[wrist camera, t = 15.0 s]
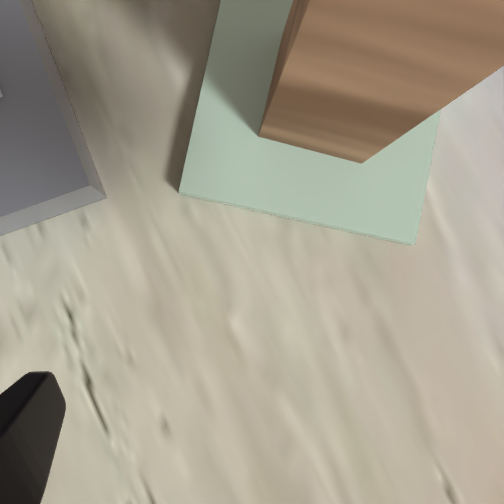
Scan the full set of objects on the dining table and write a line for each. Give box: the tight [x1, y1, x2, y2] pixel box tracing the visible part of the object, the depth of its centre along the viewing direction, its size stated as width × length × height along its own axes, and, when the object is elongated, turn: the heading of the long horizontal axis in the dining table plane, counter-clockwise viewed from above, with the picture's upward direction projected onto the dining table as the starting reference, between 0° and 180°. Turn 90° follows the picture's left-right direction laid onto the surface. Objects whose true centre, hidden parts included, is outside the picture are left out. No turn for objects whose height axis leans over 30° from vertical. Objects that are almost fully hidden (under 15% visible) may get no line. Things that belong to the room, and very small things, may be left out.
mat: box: [179, 0, 441, 245], centre depth 18 cm, size 9×9×1 cm
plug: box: [258, 0, 504, 164], centre depth 12 cm, size 4×4×12 cm
